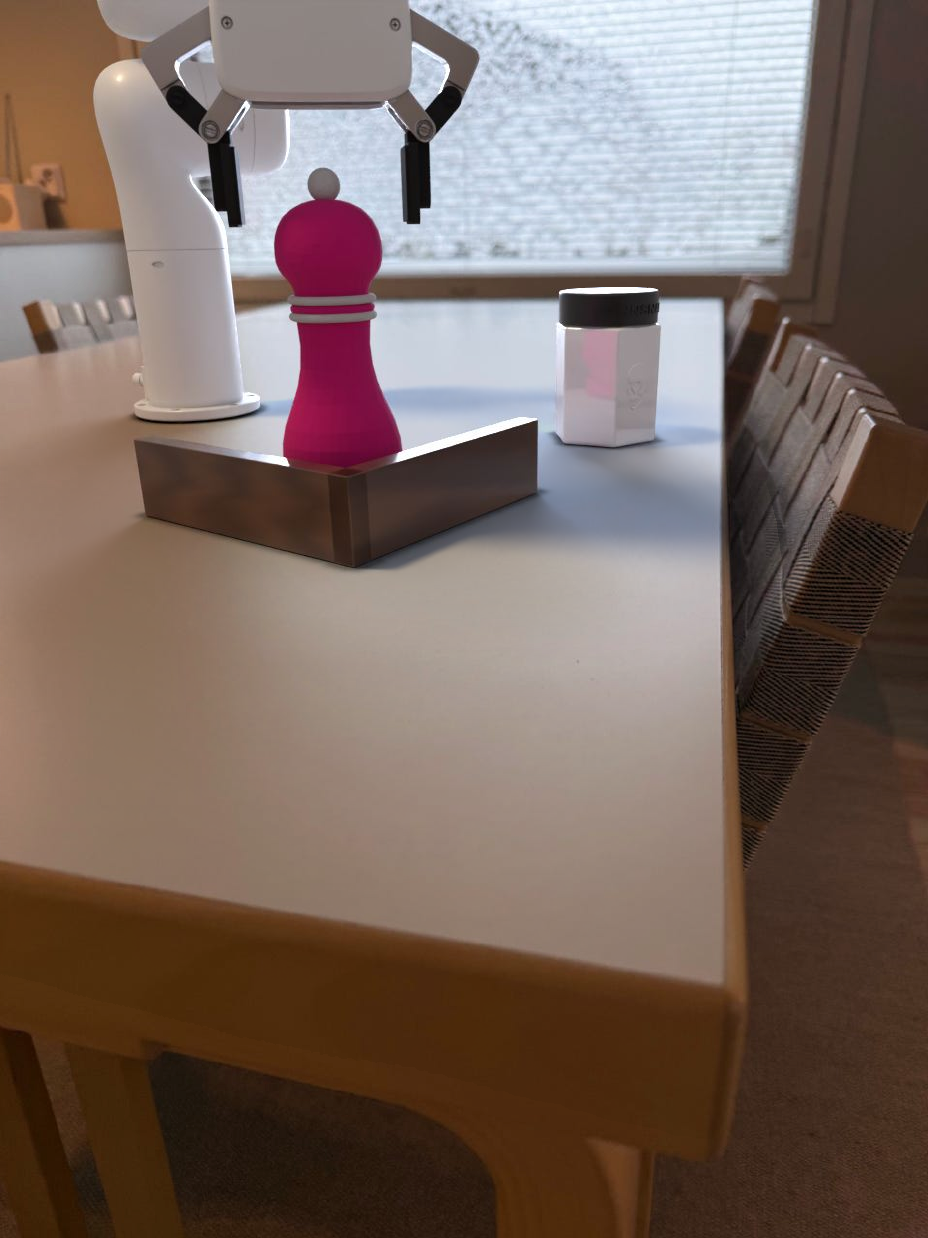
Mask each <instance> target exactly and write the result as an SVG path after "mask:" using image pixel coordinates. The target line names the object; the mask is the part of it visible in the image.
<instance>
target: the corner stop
mask: <svg viewBox="0 0 928 1238" xmlns="http://www.w3.org/2000/svg"><path fill="white" fill-rule="evenodd" d="M133 445H134V451H135V458H136V463H137V469H138V475H139V477H138V478H139V482H140V488H141V495H142V501H143V509H144V515H145V516H147V517H151V518H153V519H158V520H162V521H163V520H164V521H167V522H171V523H175V524H179V525H183V526H187V527H191V528H195V529H199V530H203V531H208V532H211V533H215V534H218V535H223V536H227V537H231V538H235V539H239V540H243V541H246V542H251V543H255V544H259V545H263V546H266V547H267V546H268V547H271V548H275V549H279V550H284V551H286V552H287V551H288V552H291V553H295V554H299V555H303V556H308V557H311V558H316V559H319V560H324V561H327V562H332V563H335V564H339V565H343V566H347V567H351V568H356V567H358V566H360V565H363V564H365V563H368V562H370V561H373V560H376V559H377V558H380V557H382V556H385V555H387V554H390V553H392V552H395V551H397V550H400V549H403V548H404V547H407V546H409V545H412V544H414V543H416V542H419V541H422V540H424V539H426V538H429V537H431V536H434V535H436V534H438V533H441V532H443V531H446V530H449V529H451V528H454V527H456V526H458V525H461V524H464V523H465V522H468V521H471V520H473V519H476V518H477V517H480V516H482V515H485V514H487V513H490V512H493V511H494V510H497V509H501V508H502V507H504V506H507V505H509V504H512V503H514V502H516V501H519V500H521V499H524V498H526V497H529V496H531V495H533V494H536V493H538V477H539V476H538V475H539V474H538V472H539V471H538V470H539V468H538V466H539V465H538V464H539V462H538V461H539V419H537V418H529V417H517V418H513V419H509V420H506V421H502V422H499V423H495V424H493V425H488V426H485V427H482V428H478V429H475V430H472V431H468V432H465V433H462V434H458V435H455V436H451V437H447V438H444V439H441V440H437V441H434V442H430V443H427V444H424V445H420V446H417V447H413V448H410V449H406V450H403V452H399V453H396V454H392V455H389V456H386V457H382V458H379V459H375V460H372V461H368V462H365V463H362V464H358V465H355V466H351V467H348V468H343V467H337V466H331V465H325V464H319V463H313V462H307V461H302V460H296V459H290V458H284V457H283V456H278V455H271V454H265V453H260V452H254V451H247V450H241V449H236V448H229V447H225V446H224V447H223V446H218V445H213V444H207V443H200V442H195V441H189V440H181V439H175V438H171V437H164V436H159V435H154V434H153V435H147V436H143V437H139V438H138V437H137V438H134V439H133Z"/></svg>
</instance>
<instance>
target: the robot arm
mask: <svg viewBox="0 0 928 1238" xmlns="http://www.w3.org/2000/svg"><path fill="white" fill-rule="evenodd" d="M96 3H97V7H98V9H99V12H100V15H101V17H102V19H103V20H104V23H105V25H106V26H107V27H108V28H109V29H110V30H111V31H112V32H113V33H115V34H116V35H118V36H120V37H123V38H126V39H128V40H133V41H139V42H144V43H145V42H146V43H147V44H145V45H144V46H143V47H142V48H141V50H140V58H130V59H125V60H124V59H123V60H119V61H115V62H114V63H111V64H110V65H108V66H107V67H105V68H104V69H103V70H102V71H101V72H100V73H99V74H98V75H97V76H98V77H97V78H96V80H95V83H94V86H93V91H92V92H93V93H92V98H93V99H92V100H93V108H94V115H95V119H96V123H97V129H98V131H99V135H100V138H101V141H102V145H103V149H104V151H105V155H106V158H107V161H108V165H109V170H110V172H111V177H112V180H113V184H114V189H115V195H116V198H117V203H118V209H119V213H120V214H119V215H120V219H121V224H122V231H123V239H124V244H125V251H126V256H127V263H128V270H129V278H130V284H131V290H132V295H133V302H134V303H133V304H134V309H135V310H134V311H135V316H136V323H137V329H138V336H139V342H140V350H141V356H142V362H143V365H141V366H140V371H141V372H135V373H134V374H133V375H132V376H131V381H132V384H133V385H134V386H136V387H141V388H143V391H144V398H143V399H140V400H138V401H136V402H135V403H134V405H133V408H134V409H133V410H134V415H135V416H136V417H138V418H139V419H144V420H149V421H157V422H194V421H195V422H196V421H197V422H198V421H209V420H210V421H211V420H218V419H225V418H226V419H227V418H232V417H237V416H242V415H246V414H249V413H253V412H255V411H256V410H257V411H258V410H259V408H261V400H260V399H261V398H260V396H259V395H257V394H256V393H252V392H248V391H244V383H243V372H242V366H241V355H240V345H239V338H238V328H237V319H236V312H235V311H236V310H235V301H234V293H233V285H232V284H233V283H232V275H231V266H230V256H229V249H228V242H227V241H228V239H227V234H226V229H225V226H224V223H223V221H222V219H221V216H220V215H219V212H220V213H222V212H224V213H225V212H226V216H227V225H228V228H243V226H246V213H245V203H244V195H243V185H242V184H243V183H242V177H264V176H270V175H273V174H275V173H277V172H279V171H280V170H282V168H283V166H284V165H285V163H286V162H287V158H288V154H289V149H290V115H289V111H365V110H380V109H385V110H386V111H387V113H388V114H389V116H390V117H391V118H392V119H393V121H394V122H395V123H396V124H397V125H398V127H399V128H400V129H401V130H402V132H403V135H404V145H403V146H402V147H401V148H400V150H399V151H400V153H399V155H400V179H401V181H400V182H401V207H402V208H401V209H402V221H403V223H406V225H421V210H423V209H431V208H432V207H431V206H432V185H431V183H432V182H431V181H432V180H431V148H430V147H431V145H430V144H431V143H430V142H431V141H432V140H434V138H435V137H436V135H437V134H438V133H439V132H440V131H441V129H442V128H443V127H444V126H445V125H446V123H448V122H449V120H450V119H451V118H452V117H453V115H454V114H455V113H456V112H457V111H458V109H459V108H460V107H461V105H462V102H463V99H464V97H465V95H466V92H467V91H468V89H469V86H470V84H471V81H472V79H473V77H474V74H475V73H476V70H477V68H478V65H479V62H480V53H479V51H478V50H477V49H476V48H475V47H473V46H472V45H470V44H469V43H467V42H466V41H464V40H462V39H461V38H459V37H457V36H456V35H454V34H453V33H451V32H449V31H447V30H445V29H444V28H442V27H441V26H439V25H437V24H436V23H434V21H431V20H429V19H428V18H426V17H424V16H423V15H422V14H420V13H419V12H416V11H415V10H413V9H411V7H410V0H96ZM207 47H211V50H212V57H213V62H203V61H202V62H201V61H199V62H198V61H193V60H187V59H189V58H190V57H192V56H193V55H196V54H197V53H198V52H200V51H202V50H204V49H205V48H207ZM413 47H414V48H416V49H418V50H419V51H421V52H423V53H424V54H426V55H428V56H429V57H431V58H432V59H434V60H435V61H438V62H439V63H441V64H442V65H443V66H444V68H445V72H446V74H445V78H444V80H443V83H442V85H441V87H440V90H439V92H438V94H437V95H436V97H434V99H433V100H432V101H431V102H430V103H429V104H428V105H427V106H426V108H425V109H424V108H423V106H422V105H421V103H419V101H418V100H417V99H416V97H415V96H414V95H413V93H412V92H411V90H410V89H409V88H410V86H411V83H412V78H413ZM205 177H210V180H211V190H212V199H213V205H212V204H211V202H210V201H209V200H208V199H207V198H206V197H205V196H204V194H203V193H202V192H201V191H200V190H199V189H198V187H197V186H196V185H195V184H194V182H193V180H192V179H195V178H205Z"/></svg>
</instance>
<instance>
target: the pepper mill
mask: <svg viewBox="0 0 928 1238" xmlns="http://www.w3.org/2000/svg"><path fill="white" fill-rule="evenodd" d="M306 184H307V191H308V193H309V195H310V196H311V197H312V200H311V199H310V200H307V201H304V202H300V203H299V204H297V205H295V206H293V207H292V208H290V209H289V210H288V211H286V213H285V214H284V215H283V216H282V217H281V218H280V220H279V223H278V225H277V226H276V230H275V232H274V239H273V251H274V252H273V254H274V261H275V265H276V267H277V269H278V271H279V273H280V274H281V276H282V277H283V278H284V279H285V280H286V281H287V282H288V283H289V285H290V286H291V288H292V291H293V294H291V295H289V296H288V297H287V303H288V304H290V306H289V310H290V313H289V315H288V318H289V320H290V321H291V322H293V323H296V327H297V333H298V341H299V373H298V379H297V380H298V381H297V387H296V391H295V394H294V397H293V401H292V404H291V407H290V410H289V414H288V418H287V420H286V423H285V427H284V434H283V440H282V457H284V458H290V459H296V460H302V461H307V462H313V463H319V464H325V465H331V466H337V467H343V468H348V467H351V466H355V465H358V464H362V463H365V462H368V461H372V460H375V459H379V458H382V457H386V456H389V455H392V454H396V453H399V452H403V451H404V450H403V444H402V436H401V433H400V430H399V427H398V424H397V421H396V419H395V416H394V414H393V412H392V410H391V408H390V405H389V404H388V401H387V399H386V397H385V395H384V392H383V390H382V388H381V385H380V383H379V381H378V380H379V379H378V375H377V374H376V369H375V366H374V360H373V354H372V347H371V320H375V319H376V318H377V316H378V312H377V311H376V310H375V308H376V305H375V303H374V302H376V300H377V295H376V294H375V293H373V292H369V291H370V286H371V284H372V282H373V280H374V279H375V277H376V276H377V274H378V273H379V271H380V269H381V267H382V262H383V243H382V238H381V235H380V231H379V229H378V227H377V225H376V223H375V221H374V219H373V218H372V217H371V216H370V215H369V214H368V213H367V211H365V210H364V209H362V208H361V207H359V206H358V205H356V204H353V203H352V202H349V201H346V200H341V199H337V198H338V196H339V195H340V192H341V182H340V178H339V177H338V174H337V173H336V172H335V171H334V170H332V169H330V168H328V167H318V168H315V169H314V170H312V171H311V173H310V174H309V176H308V178H307V183H306Z"/></svg>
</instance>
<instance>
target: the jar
mask: <svg viewBox="0 0 928 1238" xmlns="http://www.w3.org/2000/svg"><path fill="white" fill-rule="evenodd" d="M660 305H661V304H660V290H658V289H656V288H651V287H648V288H647V287H585V288H569V289H563V290H560V291H559V293H558V323H556V337H555V338H556V343H555V346H556V347H555V349H556V350H555V400H554V401H555V402H554V403H555V406H554V408H555V411H554V432H555V433H556V435H557V436H558V437H559V439H560V440H561V442H562V443H564V444H567V445H579V446H592V447H604V448H617V447H625V446H630V445H635V444H640V443H641V444H642V443H645V442H650V441H653V440H654V439H655V437H656V419H657V405H658V404H657V401H658V386H659V385H658V384H659V369H660V368H659V367H660V352H661V351H660V350H661V336H662V335H661V334H662V333H661V331H662V326H661V324H659V323H658V321H659V320H658V319H659V312H660Z"/></svg>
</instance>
